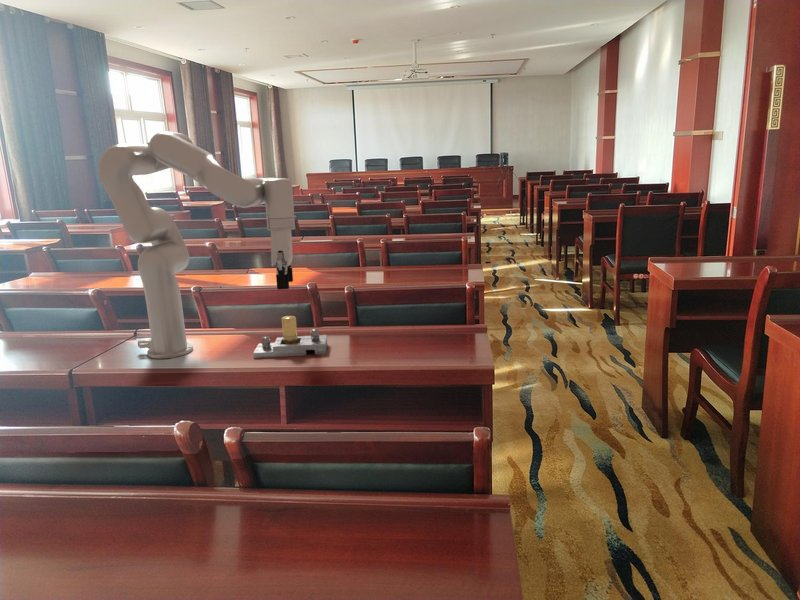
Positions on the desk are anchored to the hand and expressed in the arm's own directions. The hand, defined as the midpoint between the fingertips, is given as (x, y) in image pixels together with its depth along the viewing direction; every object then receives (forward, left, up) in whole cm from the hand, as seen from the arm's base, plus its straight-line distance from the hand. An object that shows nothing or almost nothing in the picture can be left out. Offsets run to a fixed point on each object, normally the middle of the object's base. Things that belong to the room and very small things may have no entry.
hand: (285, 285), depth 169 cm
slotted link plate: (-3, 0, -19) cm, 20 cm away
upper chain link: (+3, 0, -19) cm, 20 cm away
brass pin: (0, 0, -19) cm, 19 cm away
